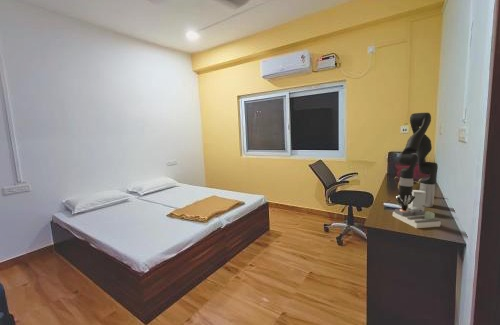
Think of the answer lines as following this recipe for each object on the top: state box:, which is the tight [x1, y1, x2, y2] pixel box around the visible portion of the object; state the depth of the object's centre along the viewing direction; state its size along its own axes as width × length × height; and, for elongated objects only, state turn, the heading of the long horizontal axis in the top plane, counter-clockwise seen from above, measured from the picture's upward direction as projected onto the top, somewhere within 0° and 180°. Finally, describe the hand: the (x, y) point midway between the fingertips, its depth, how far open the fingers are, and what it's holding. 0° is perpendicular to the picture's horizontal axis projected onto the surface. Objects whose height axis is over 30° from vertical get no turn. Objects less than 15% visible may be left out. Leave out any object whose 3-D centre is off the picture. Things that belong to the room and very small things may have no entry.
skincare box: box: [407, 189, 426, 211], centre depth 171 cm, size 8×6×15 cm
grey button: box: [410, 207, 420, 212], centre depth 159 cm, size 5×5×2 cm
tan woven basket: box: [394, 176, 422, 190], centre depth 213 cm, size 22×17×15 cm
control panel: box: [392, 207, 442, 229], centre depth 154 cm, size 20×16×5 cm
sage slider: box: [424, 210, 436, 220], centre depth 148 cm, size 4×3×4 cm
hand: (404, 210), depth 158 cm, fingers closed
